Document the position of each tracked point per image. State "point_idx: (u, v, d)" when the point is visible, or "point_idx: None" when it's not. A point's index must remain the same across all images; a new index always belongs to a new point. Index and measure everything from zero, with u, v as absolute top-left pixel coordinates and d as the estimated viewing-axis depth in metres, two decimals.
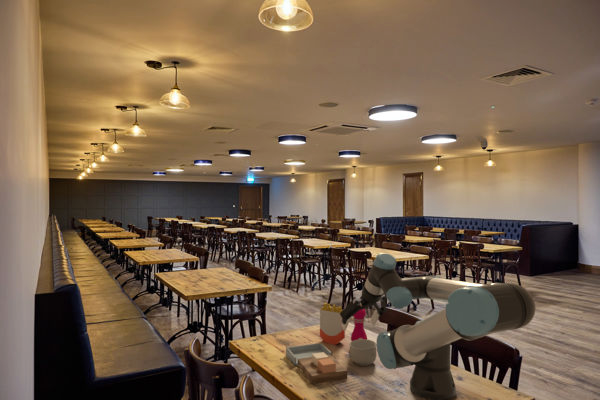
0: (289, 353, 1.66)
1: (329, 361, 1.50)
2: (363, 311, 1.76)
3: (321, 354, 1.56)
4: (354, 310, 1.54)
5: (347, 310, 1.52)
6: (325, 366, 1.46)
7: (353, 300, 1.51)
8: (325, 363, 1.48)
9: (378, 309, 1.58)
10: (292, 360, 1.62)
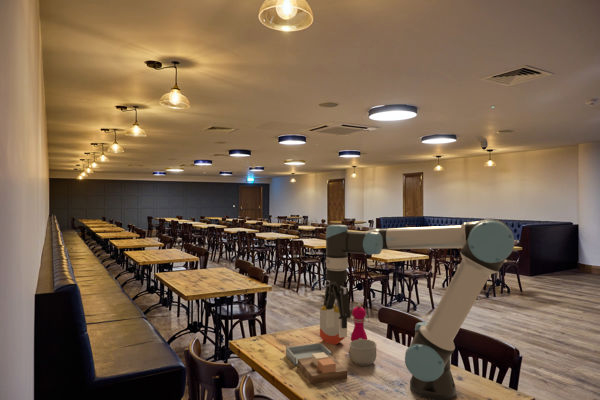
0: (289, 353, 1.66)
1: (329, 361, 1.50)
2: (363, 311, 1.76)
3: (321, 354, 1.56)
4: None
5: (347, 305, 1.34)
6: (325, 366, 1.46)
7: (343, 291, 1.35)
8: (325, 363, 1.48)
9: None
10: (292, 360, 1.62)
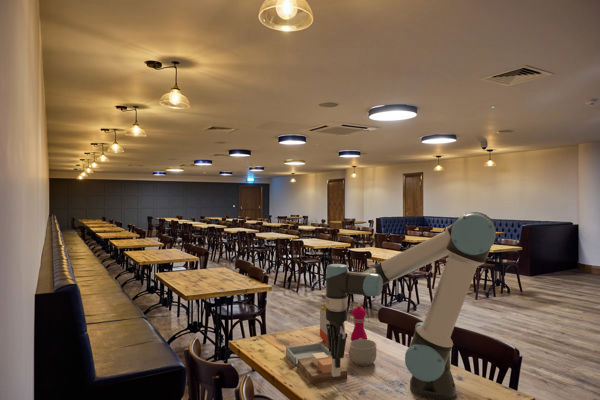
0: (289, 353, 1.66)
1: (329, 361, 1.50)
2: (363, 311, 1.76)
3: (321, 354, 1.56)
4: None
5: (342, 348, 1.37)
6: (325, 366, 1.46)
7: (342, 337, 1.35)
8: (325, 363, 1.48)
9: None
10: (292, 360, 1.62)
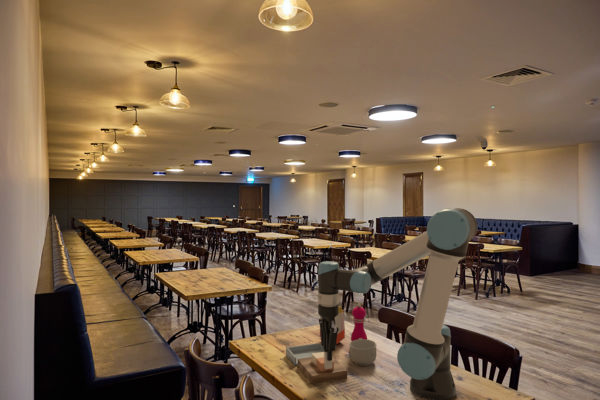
0: (289, 353, 1.66)
1: None
2: (363, 311, 1.76)
3: (321, 354, 1.56)
4: None
5: (334, 342, 1.44)
6: (323, 364, 1.48)
7: (334, 331, 1.42)
8: (323, 361, 1.49)
9: None
10: (292, 360, 1.62)
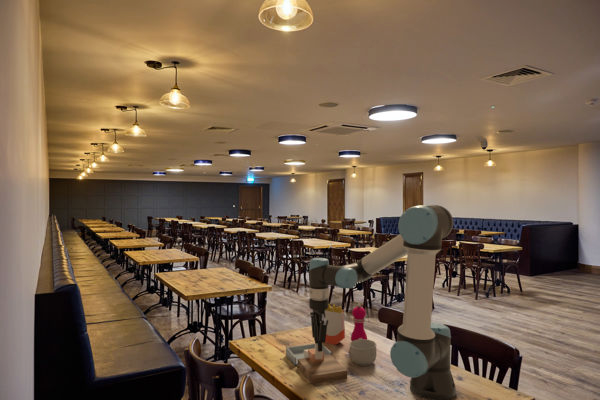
0: (289, 353, 1.66)
1: None
2: (363, 311, 1.76)
3: None
4: None
5: (324, 333, 1.52)
6: (314, 355, 1.57)
7: (323, 323, 1.51)
8: (314, 352, 1.58)
9: None
10: (292, 360, 1.62)
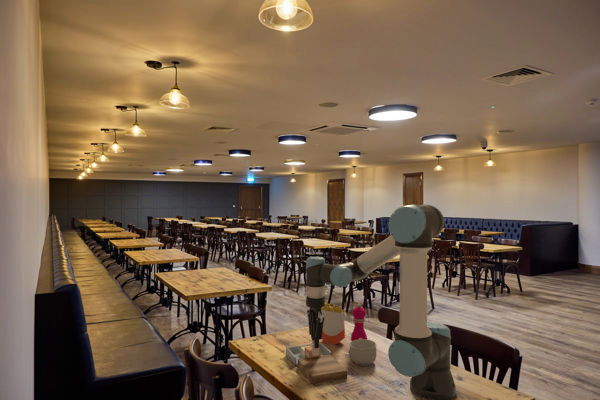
0: (289, 353, 1.66)
1: None
2: (363, 311, 1.76)
3: None
4: None
5: (320, 331, 1.56)
6: (311, 351, 1.60)
7: (320, 321, 1.54)
8: (311, 349, 1.62)
9: None
10: (292, 360, 1.62)
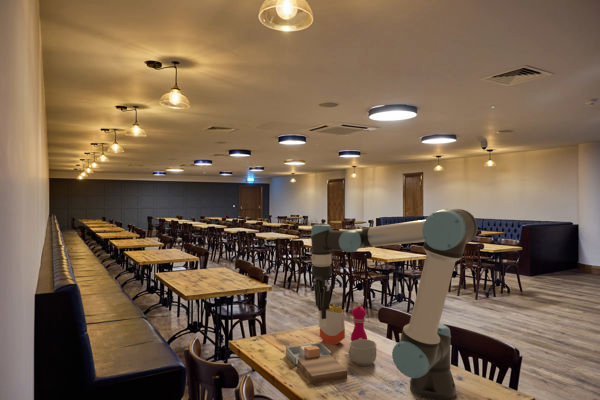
0: (289, 353, 1.66)
1: (314, 347, 1.64)
2: (363, 311, 1.76)
3: None
4: None
5: (327, 300, 1.50)
6: (310, 351, 1.61)
7: (327, 289, 1.48)
8: (310, 348, 1.62)
9: None
10: (292, 360, 1.62)
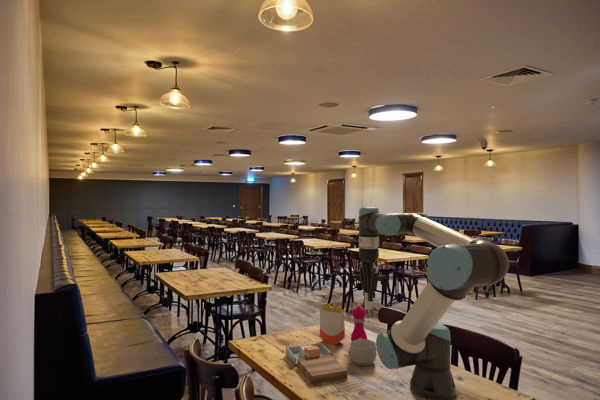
0: (289, 353, 1.66)
1: (314, 347, 1.64)
2: (363, 311, 1.76)
3: None
4: None
5: (375, 282, 1.50)
6: (310, 351, 1.61)
7: (375, 271, 1.48)
8: (310, 348, 1.62)
9: None
10: (292, 360, 1.62)
